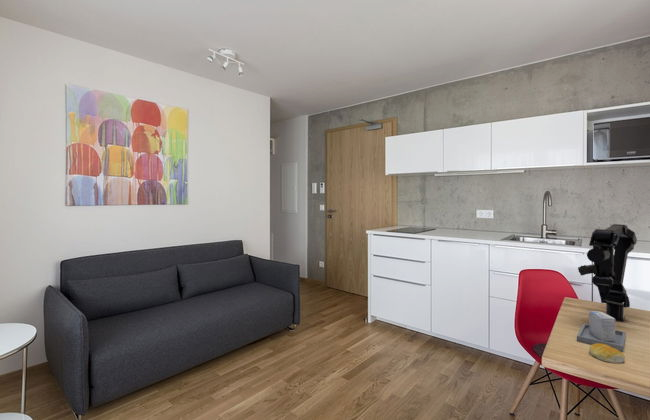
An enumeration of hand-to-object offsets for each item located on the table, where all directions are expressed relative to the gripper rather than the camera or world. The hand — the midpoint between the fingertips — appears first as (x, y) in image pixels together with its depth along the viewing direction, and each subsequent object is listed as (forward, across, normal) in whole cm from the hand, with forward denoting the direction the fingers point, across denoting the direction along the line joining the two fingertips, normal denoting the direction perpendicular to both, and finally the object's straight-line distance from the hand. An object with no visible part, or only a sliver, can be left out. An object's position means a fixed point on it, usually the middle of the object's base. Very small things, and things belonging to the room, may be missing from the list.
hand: (603, 297), depth 136 cm
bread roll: (+12, +36, +3) cm, 38 cm away
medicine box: (+11, +19, +1) cm, 22 cm away
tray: (+11, +19, +1) cm, 22 cm away
